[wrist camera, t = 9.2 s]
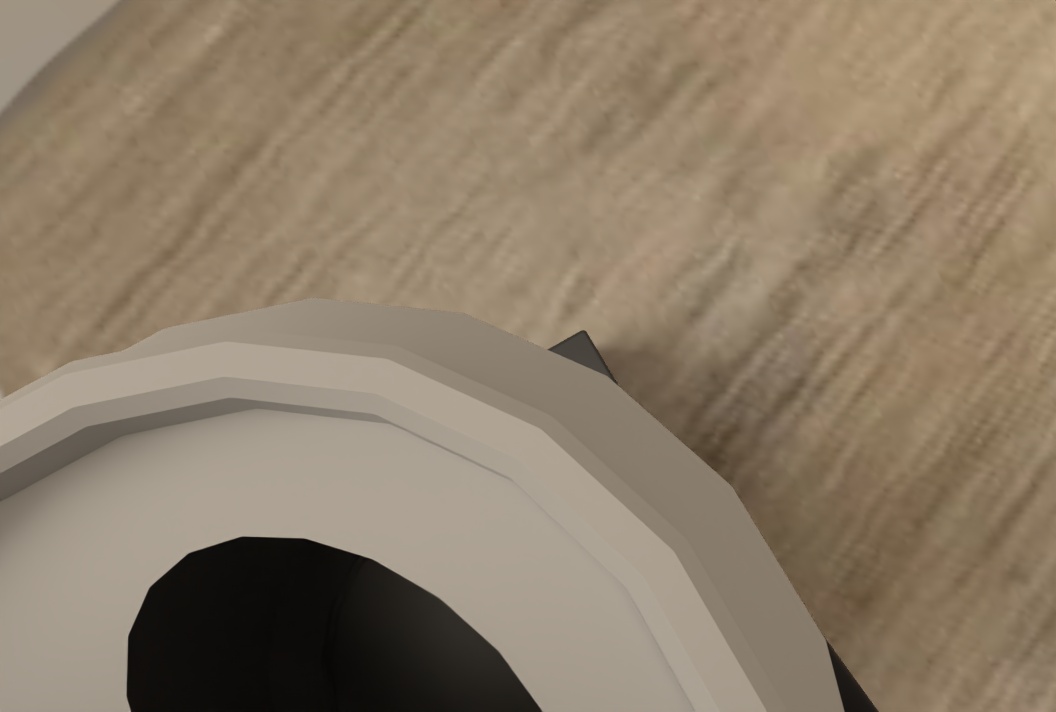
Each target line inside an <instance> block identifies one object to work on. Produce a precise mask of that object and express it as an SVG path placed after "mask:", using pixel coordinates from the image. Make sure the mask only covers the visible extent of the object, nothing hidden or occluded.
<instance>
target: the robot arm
mask: <svg viewBox="0 0 1056 712" xmlns="http://www.w3.org/2000/svg"><path fill="white" fill-rule="evenodd" d="M822 635H823V634H822ZM823 637H824V636H823ZM824 638H825V637H824ZM825 640H826V639H825ZM826 643H827V647H828V651H829V655H830V659H831V662H832V666H833V670H834V674H835V678H836V681H837V685H838V689H839V693H840V697H841V700H842V704H843V708H844V712H878V710H877V709H876V707H875V706H874V705H873V703H872V702H871V701H870V699H869V698H868V696H867V695H866V694H865V692H864V691H863V690H862V688H861V687H860V685H859V684H858V683H857V681H856V680H855V679H854V677H853V676H852V674H851V673H850V672H849V670H848V669H847V667H846V666H845V665H844V663H843V662H842V661H841V659H840V658H839V656H838V655H837V654H836V652H835V651H834V650H833V648H832V647H831V645H830V644H829V643H828V641H827V640H826Z"/></svg>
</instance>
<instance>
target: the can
mask: <svg viewBox="0 0 1056 712" xmlns="http://www.w3.org/2000/svg"><path fill="white" fill-rule="evenodd" d="M0 712H844V708H843V704H842V700H841V697H840V693H839V689H838V685H837V681H836V678H835V674H834V670H833V666H832V662H831V659H830V655H829V651H828V647H827V643H826V640H825V638H824V637H823V635H822V633H821V632H820V630H819V628H818V627H817V625H816V623H815V622H814V620H813V619H812V617H811V615H810V614H809V612H808V610H807V609H806V607H805V605H804V604H803V602H802V601H801V599H800V597H799V596H798V594H797V592H796V591H795V589H794V587H793V586H792V584H791V582H790V581H789V579H788V578H787V576H786V574H785V573H784V571H783V569H782V568H781V566H780V564H779V563H778V561H777V560H776V558H775V556H774V555H773V553H772V551H771V550H770V548H769V546H768V545H767V543H766V541H765V540H764V538H763V537H762V535H761V533H760V532H759V530H758V528H757V527H756V525H755V523H754V522H753V520H752V519H751V517H750V515H749V514H748V512H747V510H746V509H745V507H744V505H743V504H742V502H741V500H740V499H739V497H738V496H737V494H736V492H735V491H734V489H733V487H732V486H731V485H730V484H729V483H728V482H727V481H725V480H724V479H723V478H722V477H721V476H720V475H719V474H717V473H716V472H715V471H714V470H713V469H712V468H711V467H710V466H708V465H707V464H706V463H705V462H704V461H703V460H702V459H700V458H699V457H698V456H697V455H696V454H695V453H694V452H693V451H691V450H690V449H689V448H688V447H687V446H686V445H685V444H683V443H682V442H681V441H680V440H679V439H678V438H677V437H676V436H674V435H673V434H672V433H671V432H670V431H669V430H668V429H666V428H665V427H664V426H663V425H662V424H661V423H660V422H659V421H657V420H656V419H655V418H654V417H653V416H652V415H651V414H649V413H648V412H647V411H646V410H645V409H644V408H643V407H642V406H640V405H639V404H638V403H637V402H636V401H635V400H634V399H632V398H631V397H630V396H629V395H628V394H627V393H626V392H625V391H623V390H622V389H621V388H620V387H619V386H618V385H617V384H616V383H614V382H613V381H612V380H611V379H610V378H609V377H608V376H606V375H604V374H601V373H599V372H597V371H594V370H592V369H590V368H588V367H585V366H583V365H581V364H579V363H576V362H574V361H572V360H569V359H567V358H565V357H563V356H560V355H558V354H556V353H553V352H551V351H549V350H547V349H544V348H542V347H540V346H538V345H535V344H533V343H531V342H528V341H526V340H524V339H522V338H519V337H517V336H515V335H513V334H510V333H508V332H506V331H503V330H501V329H499V328H497V327H494V326H492V325H490V324H488V323H485V322H483V321H481V320H478V319H476V318H474V317H472V316H469V315H467V314H465V313H457V312H448V311H438V310H428V309H419V308H409V307H399V306H389V305H380V304H370V303H360V302H350V301H341V300H331V299H321V298H310V299H305V300H300V301H295V302H290V303H285V304H280V305H276V306H271V307H266V308H261V309H256V310H251V311H246V312H242V313H237V314H232V315H227V316H222V317H217V318H212V319H207V320H203V321H198V322H193V323H188V324H183V325H178V326H173V327H169V328H164V329H163V330H161V331H159V332H157V333H155V334H153V335H151V336H150V337H148V338H146V339H144V340H142V341H140V342H138V343H137V344H135V345H133V346H131V347H129V348H127V349H125V350H124V351H120V352H115V353H110V354H106V355H101V356H96V357H91V358H86V359H81V360H76V361H71V362H69V363H68V364H66V365H64V366H62V367H60V368H58V369H56V370H55V371H53V372H51V373H49V374H47V375H45V376H43V377H42V378H40V379H38V380H36V381H34V382H32V383H30V384H29V385H27V386H25V387H23V388H21V389H19V390H17V391H15V392H14V393H12V394H10V395H8V396H6V397H4V398H2V399H1V400H0Z"/></svg>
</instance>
